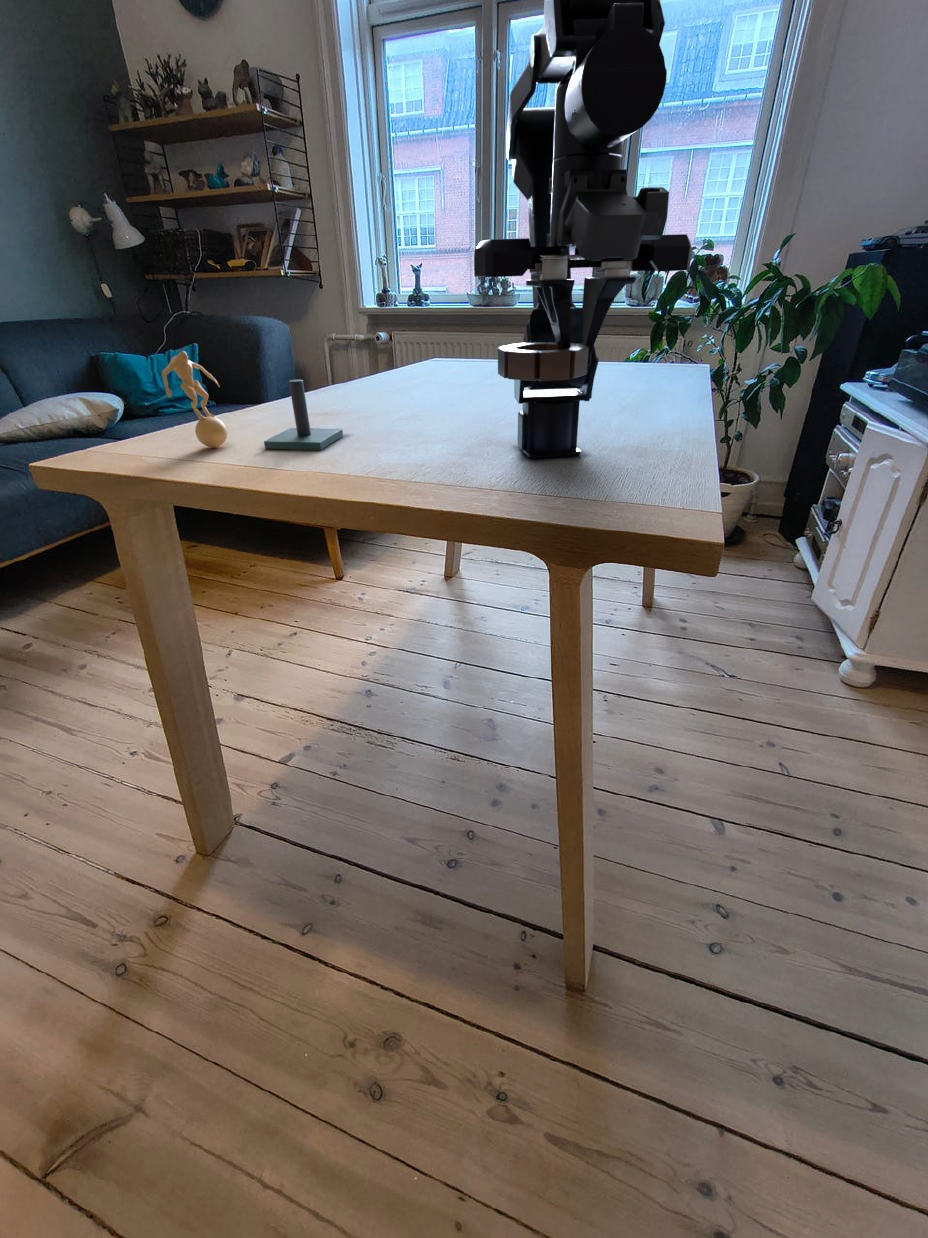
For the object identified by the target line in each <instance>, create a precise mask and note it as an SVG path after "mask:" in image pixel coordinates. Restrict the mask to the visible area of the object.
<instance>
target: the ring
mask: <svg viewBox="0 0 928 1238" xmlns="http://www.w3.org/2000/svg"><path fill="white" fill-rule="evenodd" d="M588 352H589V346H586V345H582V344H579V343H577V344H575V343H571V345H570V348H566V349H561V350H558V346H557V343H556V342H548V343H546V342H534V343H523V342H519V343H511V344H507V345H501V346H498V347H497V374H498V375H499V376H500V377H502V378H503V379H508V380H512V381H514V380H526V381H535V380H539V381H552V380H568V379H569V378H571V379H574V378H577V377H580V376H583V375H586V374H587V366H588Z"/></svg>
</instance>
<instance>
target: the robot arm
mask: <svg viewBox="0 0 928 1238" xmlns="http://www.w3.org/2000/svg"><path fill="white" fill-rule="evenodd" d="M543 4H544V5H543V25H542V27H541V29H539V30H538V32H537V33H532V34H531V38H530V46H529V54H528V63H527V65H526V66H525V68H524V69H523V71H522V73H521V75H520V76H519V78H518V80H517V81H516V83H515V84H514V86H513V88H512V90H511V91H510V93H509V100H508V110H507V111H508V113H507V124H506V139H505V140H506V141H505V143H506V145H505V146H506V159H507V161H511V168H512V182H513V184H514V186H515V187H516V188H517V189H518V191H519V192H520V193H521V195H523V197H524V198H525V199H526V200H527V211H528V213H527V214H528V228H529V229H528V230H529V237H527V238H526V237H525V238H524V237H523V238H490V239H485V240H481V241H479V243H478V244H477V246H476V247H475V248H474V255H473V275H474V278H506V277H523V276H524V275H525V274H526V272H527V271H529V274H530V279H525V281H526V282H525V285H526V287H532V288H531V289H532V305H533V306H532V307H533V309H532V311H531V314H530V317H529V319H528V321H527V323H526V325H525V329H524V334H523V339H522V343H534V342H546V343H548V342H556V343H557V346H558V350H561V349H566V348H570V345H571V343H575V344H577V343H579V344H582V345H586V346H589V352H588V366H587V374H586V375H583V376H580V377H577V378H574V379H571V378H569V379H568V380H552V381H539V380H535V381H526V380H513V392H514V393H513V395H514V396H513V398H514V399H515V401H516V402H517V403H518V404H519V405H522V410H521V411H518V413H517V447H518V448H519V449H520V450H521V451H522V452H523V453H524V455H526V457H527V458H529V459H540V458H553V457H569V456H580V455H582V450H581V449H580V448H579V447H577V446H578V434H579V433H578V432H579V417H580V403H581V402H582V401H583V402H590V399H592V397H593V388H594V381H595V377H596V373H597V370H598V366H599V359H600V358H599V357H598V356H597V354H596V353H597V352H596V346H595V343H596V341H597V338H598V336H599V334H600V331H601V328H602V326H603V323H604V321H605V318H606V316H607V314H608V313H609V310H610V309H611V306H612V304H613V302H614V301H615V299H616V297H617V296H618V295H619V294H620V292H621V291H622V290H623V289H624V287H626V286H627V285H634V284H635V283H636V280H637V276H631V272H651V271H652V272H653V271H656V272H679V271H690V269H691V262H692V255H693V246H692V244H691V241H690V240H691V239H690V238H689V235H688V234H687V233H684V234H683V233H682V234H680V233H679V234H678V233H677V234H664V232H665V228H666V225H667V220H668V211H669V199H670V191H668V190H667V189H666V188H665V187H663V186H652V187H651V186H648V187H645V186H644V187H642V188H640V190H639V191H638V194H637V195H633V196H631V195H628V191H627V184H628V176H627V172H628V169H622V165H623V163H622V162H623V151H624V140H625V139H627V138H629V137H630V136H631V135H633V134H634V133H637V131H639V130H640V129H642V128H643V127H644V126H645V125H646V124H647V123H648V122H649V121H650V120H651V119H652V118H653V116H654V115H655V113H656V112H657V110H658V108H659V106H660V105H661V102H662V99H663V97H664V94H665V89H666V85H667V75H668V71H667V68H666V62H665V56H664V53H663V51H662V48H661V40H662V36H663V32H664V30H665V29H664V28H665V24H666V20H665V16H664V11H663V7H662V3H661V0H544V3H543ZM545 84H546V85H549V84H551V85H552V84H553V85H554V84H557V86H556V89H555V98H554V99H555V100H554V101H555V103H554V107H527V105H528V104H529V102H530V101H531V99H532V98H533V96H534V94H535V92H536V89H537V85H545ZM570 248H574V254H571V253H570ZM586 268H589V269H590V268H592V270H591V276H590V277H584V278H583V279H584V281H583V293H582V307H577V306H576V305H575V304H574V302H573V290H574V286H575V283H576V281H575V280H576V279H575V278H574V279H572V270H571V269H586ZM525 388H528V390H525Z"/></svg>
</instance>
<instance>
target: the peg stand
mask: <svg viewBox="0 0 928 1238" xmlns="http://www.w3.org/2000/svg"><path fill="white" fill-rule="evenodd" d="M288 385H289V391H290V399H291V404H292V410H293V415H294V422H295V427H290V428H288V429H285V430H283V431H282V432H280V433H278V434H276V435H274V436H271V437H270V438H268V439H266V440H264V441H263V445H264V448H265V450H266V449H267V450H300V451H302V450H303V451H304V450H305V451H322V450H324V449H325V448H327V447H328V446H329V445H331V444H332V443H334V442H336V441H338V440H339V439H341V438H342V437H344V430H343V428H314V427H313V428H312V427H311V425H310V418H309V413H308V412H309V411H308V406H307V405H308V404H307V400H306V399H307V398H306V392H305V386H304V380H303V379H290V380H288Z"/></svg>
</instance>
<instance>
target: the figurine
mask: <svg viewBox="0 0 928 1238" xmlns="http://www.w3.org/2000/svg"><path fill="white" fill-rule="evenodd" d="M194 368H195V369H197V370H200V371H201V372H202V373H203V374H205V376H206V377H208V378H209V379H210V380H212V381H213V382H214V383H215V384H216V385H217V387H218V388H221V386H220V384H219V382H218V380H217V379H216V378H215V377H214V376H213V375H212V374H211V373H210V372H209V371H207V370H206V369H205V368H204V367H203V366H202V365H200V364H199V363H197V362H193V361H191V360H190V359H189V356H188V354H187V352H186V351H185V350H181V351H180V352H179V353H178V354H176V355H174V356H172V357H171V359H170V362H169V363H168V364H167V366H166V367H165V368H164V369H163V370H162V371H161V378H162V381H163V385H164V391H165V393H166V396H167V397H173V390H172V389H170V388H169V382H168V377H167V375H168V374H170V373H171V372H172V371H174V372H175V373H176V375H177V376H178V377H179V379H181V384H180V388H181V390H182V391H184V393H185V394H186V396H187V397H188V398H190V399H191V400H192V401H191V402H190V406H191V408H192V410H193V412H194V413H195V415H196V416H197V417H198V422H196V425H195V427H194V428H195V429H194V430H195V431H194V432H195V436H196V438H197V440H198V441H199V442H200V443H201V444H202V445H203V446H205V447H208V448H218V447H221V446H222V445H224V444H225V442H226V440H227V439H228V429H227V426H226V425H225V423H224V422H223V421H222V420H220V419H219V418H218V417H215V415H214V414H212V413H210V412H209V410H208V409H207V407H206V405H207V404H208V400H209V392H207V391H206V390H205V389H204V388H203V387H202V385H201V383H200V382H199V380H198V379H195V380H194V377H193V376H194V374H193V371H194ZM198 395H199V396H201V397H202V398H203V399H201V401H200V405H201V409H202V411H203V413H204V414H205V415H206V416H204V415H202V413H201V412H200V411H199V409H198V408H197V406H198Z"/></svg>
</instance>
